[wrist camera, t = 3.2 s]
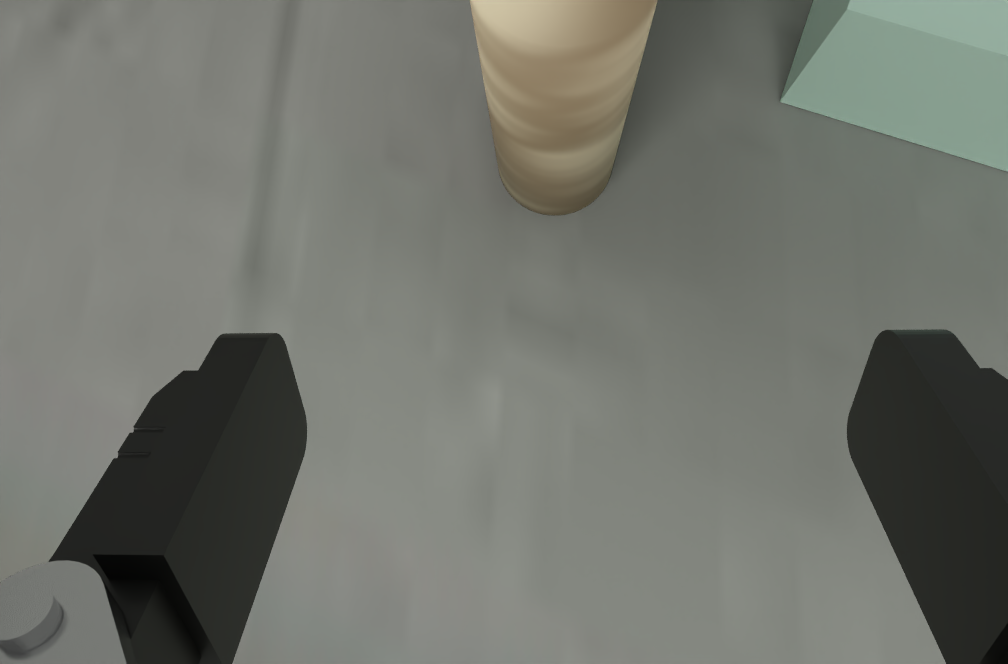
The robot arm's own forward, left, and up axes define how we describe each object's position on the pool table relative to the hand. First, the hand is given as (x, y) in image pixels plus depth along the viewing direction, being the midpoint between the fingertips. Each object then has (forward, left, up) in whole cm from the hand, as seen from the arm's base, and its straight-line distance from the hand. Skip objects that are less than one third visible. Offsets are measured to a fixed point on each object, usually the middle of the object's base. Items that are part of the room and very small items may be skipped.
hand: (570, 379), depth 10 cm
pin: (-3, +7, -12) cm, 14 cm away
